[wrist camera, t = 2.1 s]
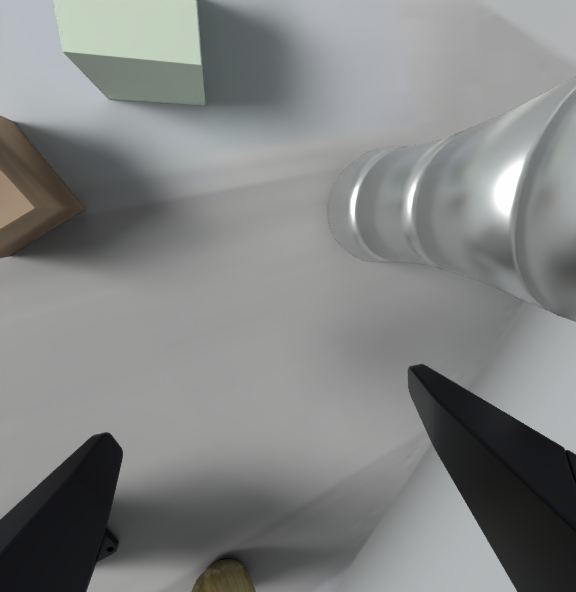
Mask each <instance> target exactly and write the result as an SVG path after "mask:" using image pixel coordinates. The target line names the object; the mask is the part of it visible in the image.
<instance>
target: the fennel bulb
mask: <svg viewBox="0 0 576 592" xmlns="http://www.w3.org/2000/svg"><path fill="white" fill-rule="evenodd" d="M192 592H256V591H255V588H254V586H253V584H252V581H251V578H250V576H249V574H248V573H247V571H246V569H245V568H244V567H243V565H242V564H241V563H240V562H239V561H236V560H234V559H223V560H219V561H217V562H215V563H213V564H212V565H210V566H209V567H208V568H207V570H206V571H205V572H204V573H203V574H202V575H200V577H199V578H198V579H197V580H196V583H195V585H194V587H193V589H192Z"/></svg>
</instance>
